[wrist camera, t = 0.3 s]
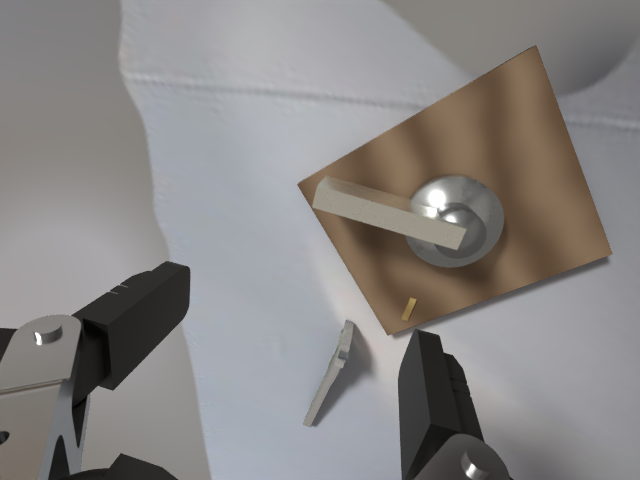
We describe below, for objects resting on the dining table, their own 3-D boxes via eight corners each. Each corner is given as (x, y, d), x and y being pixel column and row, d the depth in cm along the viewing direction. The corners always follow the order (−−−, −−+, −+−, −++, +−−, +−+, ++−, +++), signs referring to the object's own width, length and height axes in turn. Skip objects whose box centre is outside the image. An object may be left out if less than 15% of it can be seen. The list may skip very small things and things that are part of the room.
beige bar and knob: (513, 188, 31) (542, 204, 26) (473, 269, 35) (491, 299, 29) (336, 139, 32) (327, 144, 27) (315, 222, 36) (303, 242, 30)
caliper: (346, 316, 42) (341, 349, 36) (354, 319, 42) (350, 352, 36) (303, 421, 50) (293, 462, 44) (310, 424, 50) (300, 465, 44)
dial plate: (528, 48, 28) (537, 44, 27) (602, 248, 33) (613, 254, 32) (300, 181, 36) (296, 184, 35) (387, 328, 41) (387, 336, 39)
